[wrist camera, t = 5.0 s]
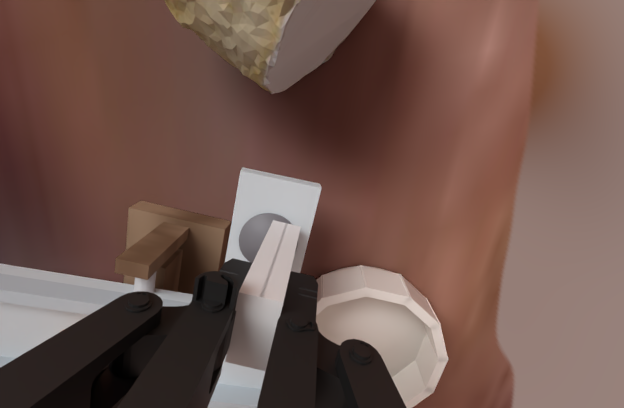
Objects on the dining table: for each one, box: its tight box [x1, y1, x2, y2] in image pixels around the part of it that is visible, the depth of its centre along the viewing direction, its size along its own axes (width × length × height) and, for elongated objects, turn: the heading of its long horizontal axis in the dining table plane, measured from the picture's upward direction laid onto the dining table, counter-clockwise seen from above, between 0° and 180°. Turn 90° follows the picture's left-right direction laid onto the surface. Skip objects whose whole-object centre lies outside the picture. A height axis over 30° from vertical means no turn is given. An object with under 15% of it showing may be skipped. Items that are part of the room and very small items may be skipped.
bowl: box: [316, 265, 449, 408], centre depth 23 cm, size 10×10×3 cm
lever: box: [0, 167, 321, 408], centre depth 17 cm, size 20×15×3 cm
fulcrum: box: [115, 201, 231, 294], centre depth 21 cm, size 6×12×6 cm, turn 167°
